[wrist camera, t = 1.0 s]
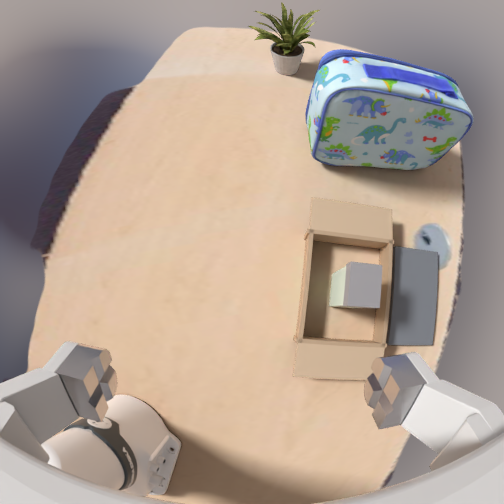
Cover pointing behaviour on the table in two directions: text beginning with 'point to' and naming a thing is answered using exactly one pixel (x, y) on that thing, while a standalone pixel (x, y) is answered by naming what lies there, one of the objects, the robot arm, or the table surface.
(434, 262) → the slate mat
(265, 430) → the table surface
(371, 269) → the block
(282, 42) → the house plant
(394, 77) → the lunch box
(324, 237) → the open cardboard box
